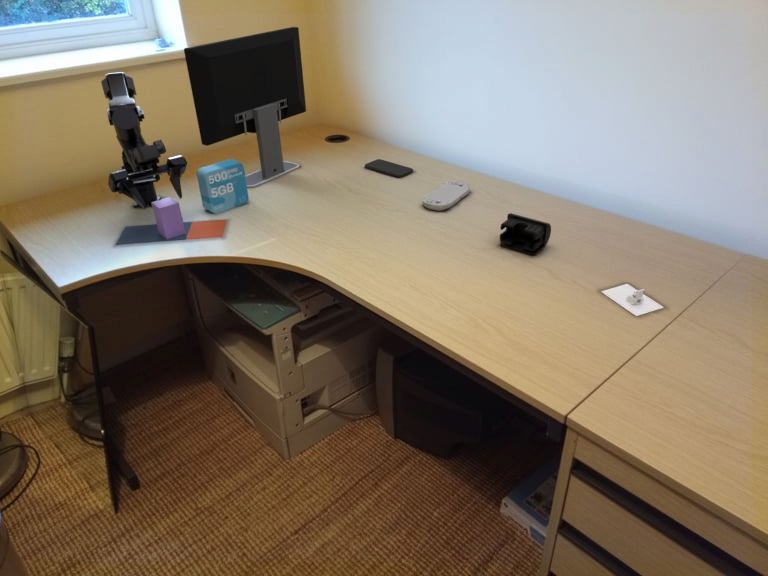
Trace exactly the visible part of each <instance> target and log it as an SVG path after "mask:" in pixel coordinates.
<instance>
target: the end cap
mask: <svg viewBox="0 0 768 576" xmlns="http://www.w3.org/2000/svg"><path fill="white" fill-rule="evenodd" d="M499 227H500V230H501V231H503V230H504V229H505V230H504V231H503V232H501V233H500V234H499V241H500V242H499V247H501V248H505V249H508V250H510V251H515V252H517V253H521V254H524V255H527V256H531V257H535V256H537V255H538V254H539V253H540V252H541V251H542V250H543V249H544V248H545V247H546V246H547V244H548V242H549V240H550V238H551V233H552V225H551V224H550V223H549V222H546V221H543V220H537V219H535V218H530V217H527V216H523V215H519V214H516V213H512V212H510V213H508V214H507V217H506V220H505V221H503V222H502V223H501V224H500V226H499Z"/></svg>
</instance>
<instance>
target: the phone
mask: <svg viewBox="0 0 768 576" xmlns="http://www.w3.org/2000/svg"><path fill="white" fill-rule="evenodd" d="M364 168H366V169H369V170H373V171H376V172H379V173H381V174H385V175H389V176H391V177H395V178H402V177H405V176H407V175H409V174H412V173H413V172H414V168H412V167H408V166H405V165H403V164H402V165H401V164H398V163H395V162H391V161H388V160H384V159H380V158H378V159H375V160H374V159H373V160H371V161H370V162H367V163H365V164H364Z"/></svg>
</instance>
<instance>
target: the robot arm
mask: <svg viewBox="0 0 768 576" xmlns="http://www.w3.org/2000/svg"><path fill="white" fill-rule="evenodd" d="M100 82H101V87H102V91H103V95H104V98H105V99H108V103H107V104H108V109H106V113H107V119H108V123H109V126H110V127H111V126H113V129H114V132H115V134H116V136H115V137H116V139H117V141H118V143H119V145H120V147H121V149H122V152H121V155H122V156H121V160H122V164H121V165H120V166H121V169H118V170H115V171H111V172H109V174H108V181H107V185H108V187H109V189H110V191H111V193H118V195H124V196H126V197H128V198H129V199H131V200H132V201H133V204H132V207H133V208H142V209H143V210H146V209H147V207H152V204H151V202H154V201H158V200H161V198H162V195H161V194H159V195H158V194H157V192H156V187H155V183H158V182H159V181H160V180H161V176H160V175H162V174H166V173H167V176H169V181H170V183H171V186H172V187H173V189H174V191H175V193H176V195H177V197H178V198H179V199H182V198H183V192H182V185H181V178H182V176H183V174H185V172H186V169H187V166H188V161H187V159H186V157H184V156H183V155H181V154H179V155H175V156H171V157H168V158H167V159H166V162H165V164H161V165H158V164H160V159H159V158H161V157H162V156H161V155H163V154H165V153H166V152H167V148H166V145H165V143H164V142H163V141H162V139H158V140H154V141H153V142H152V144H147V142H146V141H145V138H144V137H143V134H142V129H141V122H143V120H145V114H144V110H143V109H141V107H140V105H137V101H136V97H135V96H137V95H138V94H137V90H136V86H135V81H134V79H133V77H131V76H129V75H126V73H125V72H123V71H119V72H110V73H109V72H108V73H106V74H105V77H104V78H103V79H102V80H101V81H100Z"/></svg>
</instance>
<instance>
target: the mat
mask: <svg viewBox="0 0 768 576" xmlns="http://www.w3.org/2000/svg"><path fill="white" fill-rule="evenodd" d="M227 220H228V219H227V218H225V219H211V220H199V221H186V222H185V221H183V224H184V228H185V233H186V234H183V235H180V236H176V237H173V238H170V239H166V238H164V237H163V236H162V235H161V234H159V232H158V228H157V224H155V223H154V224H143V225H129V226H125V227H124V229H123V230H122V232H121V234H120V235H119V238H118V239H117V240H116V242H115V244H114V246H124V245H135V244H149V243H150V244H151V243H164V242H177V241H190V240H191V241H192V240H203V239H204V240H205V239H217V238H223V237H224V233H225V229H226V225H227V222H228V221H227Z"/></svg>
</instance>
